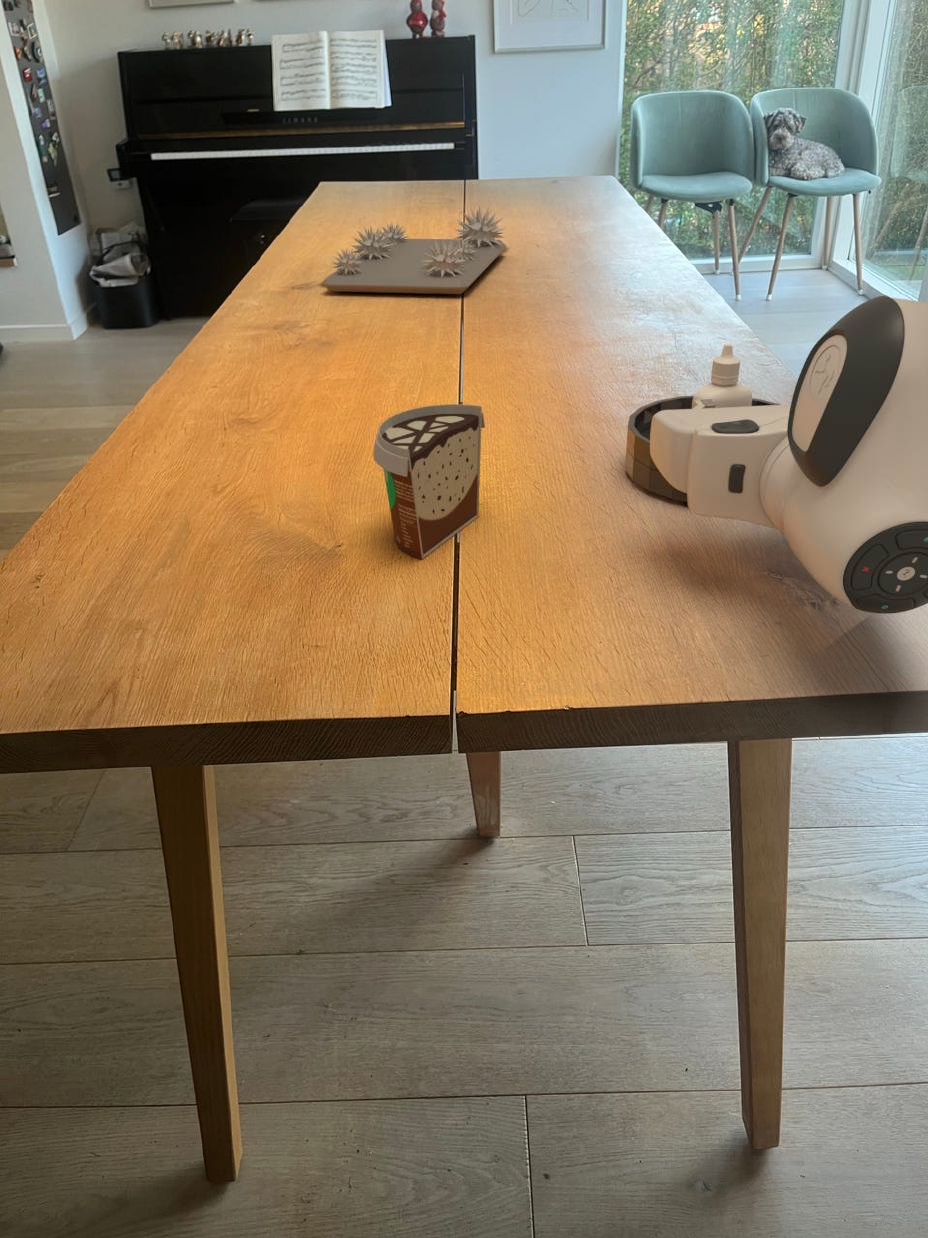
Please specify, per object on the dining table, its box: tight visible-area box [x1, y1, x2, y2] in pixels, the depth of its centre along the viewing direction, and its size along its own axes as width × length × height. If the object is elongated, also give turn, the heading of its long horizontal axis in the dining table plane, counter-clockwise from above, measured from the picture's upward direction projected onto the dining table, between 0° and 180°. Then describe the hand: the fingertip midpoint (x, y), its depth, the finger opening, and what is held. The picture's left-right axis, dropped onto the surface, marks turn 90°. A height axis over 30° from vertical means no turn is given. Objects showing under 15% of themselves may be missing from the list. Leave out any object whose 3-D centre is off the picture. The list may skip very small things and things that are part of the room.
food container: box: [372, 403, 486, 560], centre depth 84 cm, size 12×6×10 cm, turn 149°
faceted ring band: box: [624, 395, 782, 503], centre depth 94 cm, size 17×17×5 cm
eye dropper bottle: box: [692, 343, 753, 408], centre depth 92 cm, size 4×6×12 cm
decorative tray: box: [321, 205, 507, 295], centre depth 174 cm, size 35×26×10 cm
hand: (756, 405), depth 83 cm, fingers open, 8 cm apart
